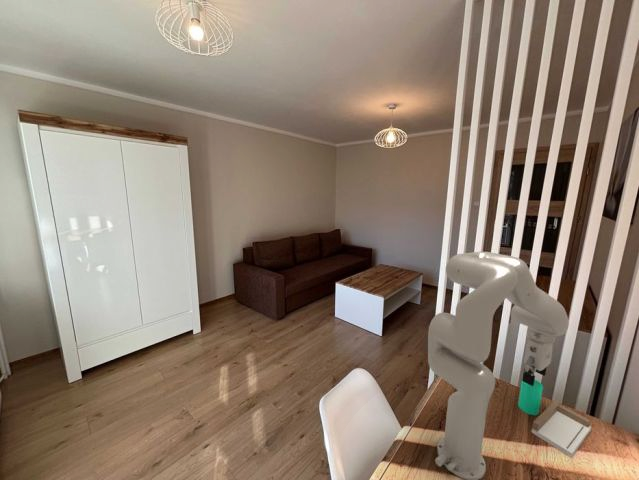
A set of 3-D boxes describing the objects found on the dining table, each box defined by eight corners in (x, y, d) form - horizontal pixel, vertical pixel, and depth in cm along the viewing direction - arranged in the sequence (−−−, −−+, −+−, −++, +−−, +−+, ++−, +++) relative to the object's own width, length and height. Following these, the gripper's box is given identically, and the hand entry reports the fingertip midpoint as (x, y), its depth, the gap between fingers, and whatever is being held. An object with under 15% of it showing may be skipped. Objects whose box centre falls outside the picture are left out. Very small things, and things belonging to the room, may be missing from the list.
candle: (531, 403, 100) (536, 374, 98) (542, 416, 94) (548, 385, 92) (514, 401, 100) (518, 373, 98) (524, 414, 95) (529, 384, 93)
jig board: (571, 457, 79) (573, 446, 78) (531, 432, 87) (533, 421, 87) (590, 430, 88) (592, 420, 88) (552, 410, 97) (554, 400, 96)
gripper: (543, 347, 85) (536, 394, 88) (563, 332, 94) (556, 375, 97) (516, 337, 91) (510, 381, 94) (538, 323, 100) (532, 364, 103)
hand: (533, 378), depth 95 cm, fingers open, 9 cm apart
